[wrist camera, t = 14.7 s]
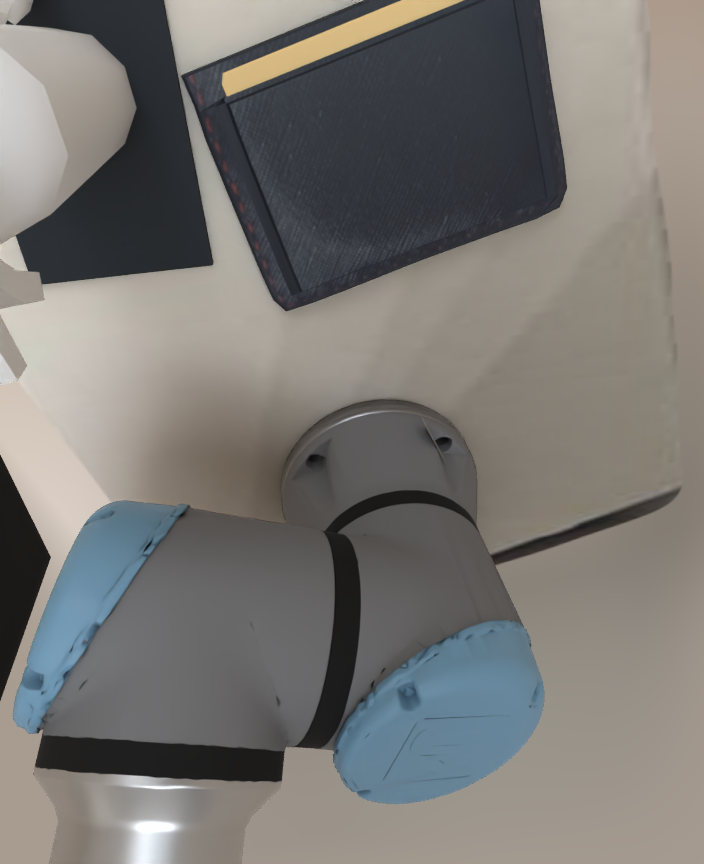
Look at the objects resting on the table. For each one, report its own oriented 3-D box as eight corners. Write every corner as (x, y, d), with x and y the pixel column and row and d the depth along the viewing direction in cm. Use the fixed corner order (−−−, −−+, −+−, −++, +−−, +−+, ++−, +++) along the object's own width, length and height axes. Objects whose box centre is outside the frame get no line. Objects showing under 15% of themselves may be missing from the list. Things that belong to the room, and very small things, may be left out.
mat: (213, 263, 42) (212, 265, 42) (34, 283, 41) (32, 285, 41) (123, -211, 30) (122, -214, 30) (-131, -196, 29) (-135, -198, 29)
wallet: (277, 322, 43) (173, 64, 35) (275, 311, 44) (176, 61, 36) (578, 218, 42) (545, -73, 34) (565, 210, 44) (532, -70, 35)
